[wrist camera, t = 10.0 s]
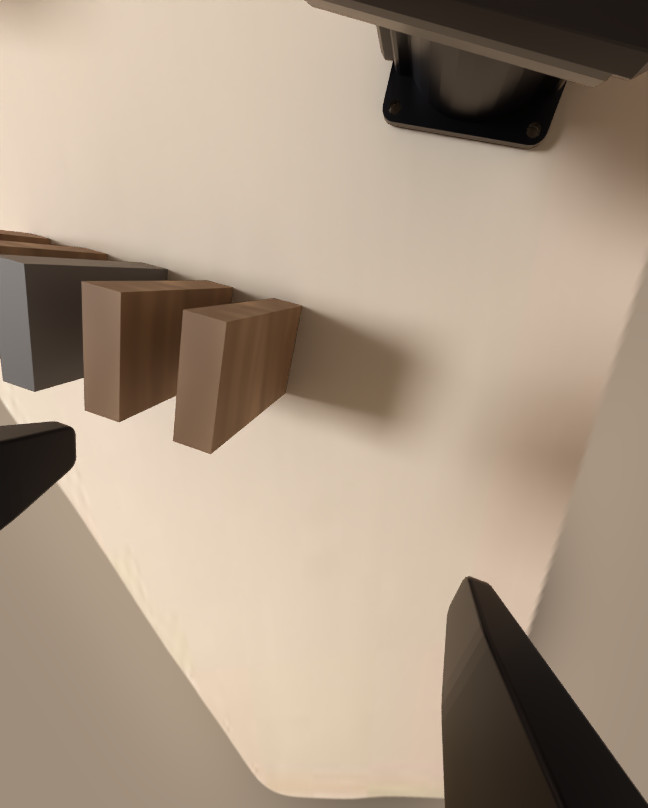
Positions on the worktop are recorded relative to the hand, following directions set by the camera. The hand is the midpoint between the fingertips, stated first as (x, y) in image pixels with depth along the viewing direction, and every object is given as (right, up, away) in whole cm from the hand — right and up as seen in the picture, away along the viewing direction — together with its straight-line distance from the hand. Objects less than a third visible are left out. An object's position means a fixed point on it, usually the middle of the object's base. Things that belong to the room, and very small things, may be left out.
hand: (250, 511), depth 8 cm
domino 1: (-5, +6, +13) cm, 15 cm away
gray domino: (-9, +8, +14) cm, 18 cm away
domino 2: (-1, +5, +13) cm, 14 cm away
